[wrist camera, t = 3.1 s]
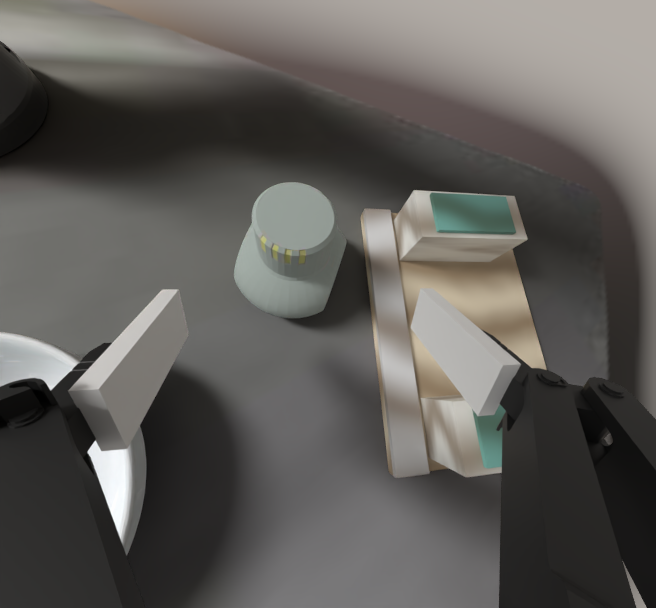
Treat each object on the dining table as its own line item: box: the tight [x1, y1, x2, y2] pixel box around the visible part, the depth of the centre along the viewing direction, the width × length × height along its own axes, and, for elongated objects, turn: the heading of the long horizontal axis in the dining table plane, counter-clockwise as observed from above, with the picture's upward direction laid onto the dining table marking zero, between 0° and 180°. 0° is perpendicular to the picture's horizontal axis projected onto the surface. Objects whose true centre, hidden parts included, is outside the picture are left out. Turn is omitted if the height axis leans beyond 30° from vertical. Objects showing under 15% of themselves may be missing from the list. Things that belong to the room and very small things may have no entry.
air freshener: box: [234, 182, 347, 318], centre depth 22 cm, size 11×8×10 cm
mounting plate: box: [361, 190, 547, 478], centre depth 25 cm, size 26×18×6 cm
